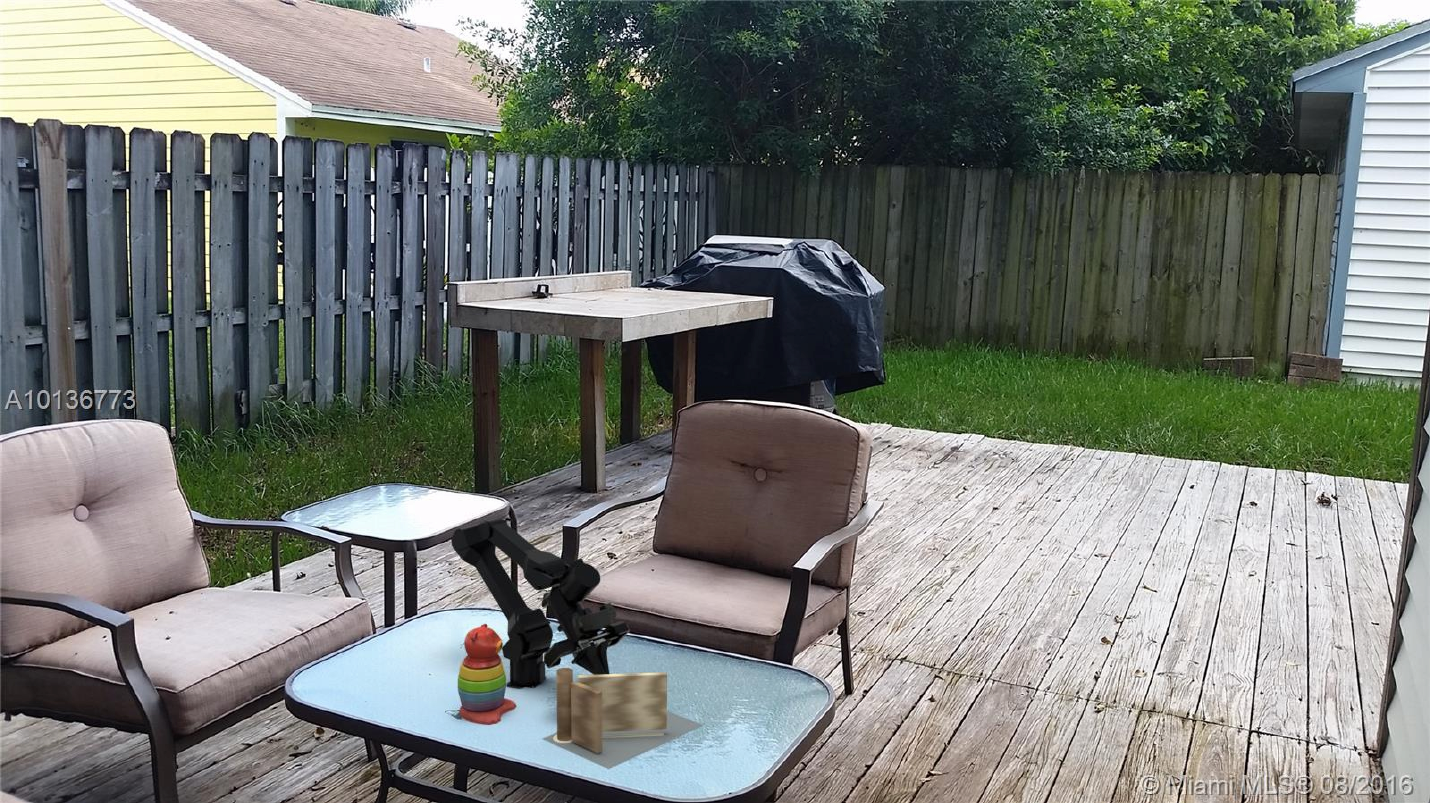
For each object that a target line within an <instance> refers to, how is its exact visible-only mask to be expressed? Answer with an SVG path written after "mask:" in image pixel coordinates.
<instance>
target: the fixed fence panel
mask: <svg viewBox="0 0 1430 803" xmlns="http://www.w3.org/2000/svg"><path fill="white" fill-rule="evenodd" d="M573 672H574V670H573V669H572V668H569V667H561V668H558V669H556V672H555V673H556V679H555V680H556V682H555V683H556V733H557V739H558V740H559V741H569V740H572V742H573V743H575V744H578V745H580V746H582V747H584V748H587V749H589V750H591V751H593V752H596V753H599V752H601V751H602V691H599V690H597V689H594V688H592V687H589V686H587V685H584V684H582V683H579V682H578V680H576V681H573V680H574V679H573V678H574V677H573V676H574V675H573Z"/></svg>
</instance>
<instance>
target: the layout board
mask: <svg viewBox="0 0 1430 803" xmlns="http://www.w3.org/2000/svg"><path fill="white" fill-rule="evenodd" d="M703 726H704V725H703V724H702V723H700V722H697V721H695V720H691V719H689V718H687V717H684V716H681V715H679V714H676V713H674V712H671V711H669V710H667V729H663V730H639V731H615V732H602V751H601V752H599V753H596V752H593V751H591V750H589V749H587V748H584V747H582V746H580V745H578V744H575V743H573V742H572V740H569V741H559V740H558V739H557V732H555V733H553V734H550V735H547V736H545V737H542V740H544V741H546V742H548V743H550V744H553V745H555V746H557V747H559V748H561V749H564V750H565V751H568V752H570V753H572V754H575V755H577V756H579V757H580V758H583V759H586V760H587V761H590V762H592V763H594V764H596V765H598V766H601V767H603V768H605V769H607V770H609V769H613V768H614V767H616V766H618V765H621V764H622V763H625V762H627V761H630V760H632V759H633V758H636V757H637V756H641V755H642V754H644V753H646V752H649V751H651V750H653V749H655V748H659V746H662V745H665V744H666V743H668V742H670V741H673V740H675V739H676V738H679V737H681V736H684V735H685V734H688V733H691V732H692V731H694V730H696V729H699V728H701V727H703Z"/></svg>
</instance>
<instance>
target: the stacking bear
mask: <svg viewBox="0 0 1430 803" xmlns="http://www.w3.org/2000/svg"><path fill="white" fill-rule="evenodd" d="M463 641H464V642H463V645H464V650H465V653H466V656H465V657H464V658H463V660H462V662H461V663H460V665H459V672H458V677H457V692H458V696H459V700H460V703H461V706H460V708H459V711H458V712H459V714H458V715H459V716H460V718H462V719H463V720H465V721H467V722H470V723H473V724H478V725H483V726H492V725H496V724H498V723H500V722H501V721H502V719H501V718H502V716H503V715H505V713H509V712H512V711H514V710H515V709H516V708H517V704H516V703H515V701H513V700H511V699H508V698H505V693H506V691H507V690H506V689H507V675H506V671H505V668H504V664H503V660H502V658H501V656H500V655H499V653H500V652H501V651H502V647H503V646H504V645H503V639H501V637H500V635H499V633H497V632H496V630H494V629H493V628H491V627H488V624H487V623H482V624H481V626H477V627H475V628H472V629H470V630H469V631H468V632H467V634H466V635H465V638H464V640H463Z"/></svg>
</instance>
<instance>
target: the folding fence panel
mask: <svg viewBox="0 0 1430 803" xmlns="http://www.w3.org/2000/svg"><path fill="white" fill-rule="evenodd" d="M577 682H579V683H582V684H584V685H587V686H589V687H592V688H594V689H597V690H599V691H602V732H615V731H639V730H663V729H667V711H668V672H666V671H664V672H661V671H660V672H636V673H635V672H634V673H633V672H631V673H610V674H602V675H593V674H582V675H581V674H579V675H577Z"/></svg>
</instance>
